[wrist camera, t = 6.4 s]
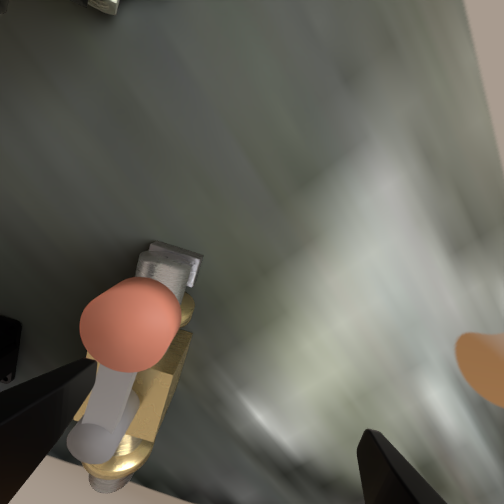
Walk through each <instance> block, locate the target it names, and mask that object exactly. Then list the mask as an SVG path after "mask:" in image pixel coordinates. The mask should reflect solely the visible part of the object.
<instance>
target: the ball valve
mask: <svg viewBox="0 0 504 504" xmlns="http://www.w3.org/2000/svg"><path fill="white" fill-rule="evenodd" d="M70 1H73V2H75V3H77V4H79V5H81V6H83V7H86V8H87V4H89V5H90V6H92V7H94V8H96V9H98V10H100V11H102V12H104V13H107V14H111V15H116V13H117V9H118V5H119V1H120V0H70ZM8 2H9V0H0V14H4V13H6V11H7V8H8Z"/></svg>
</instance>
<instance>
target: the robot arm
mask: <svg viewBox="0 0 504 504" xmlns="http://www.w3.org/2000/svg"><path fill="white" fill-rule="evenodd" d="M21 328H22V326H21V323H20V322H18V321H16V320H13V319H9V318H6V317H3V316H0V382H2V383H6V384H8V383H10V382H11V381H12V380H14V378H15V372H16V365H17V357H18V350H19V343H20V335H21ZM96 373H97V361H96V360H93V359H89V358H82V359H79V360H77V361H74V362H72V363H69V364H67V365H65V366H62V367H60V368H57V369H55V370H53V371H50V372H48V373H45V374H43V375H40V376H38V377H36V378H33V379H31V380H28V381H26V382H24V383H21V384H19V385H16V386H14V387H11V388H9V389H7V390H4V391H2V392H0V504H8V503H9V502H10V500H11V499H12V498H13V497H14V495H15V494H16V493H17V492H18V490H19V489H20V488H21V487H22V485H23V484H24V483H25V482H26V480H27V479H28V478H29V477H30V475H31V474H32V473H33V472H34V470H35V469H36V468H37V466H38V465H39V464H40V463H41V461H42V460H43V459H44V458H45V456H46V455H47V454H48V453H49V451H50V450H51V449H52V448H53V446H54V445H55V444H56V442H57V441H58V440H59V438H60V437H61V435H62V434H63V433H64V431H65V430H66V428H67V427H68V425H69V424H70V422H71V421H72V419H73V418H74V416H75V415H76V413H77V412H78V410H79V408H80V407H81V405H82V404H83V402H84V401H85V399H86V398H87V396H88V395H89V393H90V392H91V390H92V389H93V387H94V384H95V381H96ZM357 459H358V465H359V471H360V477H361V482H362V488H363V494H364V500H365V504H447V503H446V502H445V500H444V499H443V498H442V497H441V496H440V495H439V494H438V493H437V492H436V491H435V490H434V489H433V488H432V487H431V486H430V484H429V483H428V482H427V481H426V480H425V479H424V478H423V477H422V476H421V475H420V474H419V473H418V472H417V471H416V470H415V469H414V467H413V466H412V465H411V464H410V463H409V462H408V461H407V460H406V459H405V458H404V457H403V456H402V455H401V454H400V453H399V451H398V450H397V449H396V448H395V447H394V446H393V445H392V444H391V443H390V442H389V441H388V440H387V439H386V438H385V437H384V436H383V434H382V433H381V432H379V431H376V430H372V429H366V430H365V431H364V433H363V435H362V438H361V440H360V442H359V444H358V447H357Z"/></svg>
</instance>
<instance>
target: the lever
mask: <svg viewBox="0 0 504 504" xmlns="http://www.w3.org/2000/svg"><path fill="white" fill-rule="evenodd" d="M181 318H182V315H181V308H180V304H179V302H178V300H177V298H176V296H175V295H174V294H173V292H172V291H171V290H170V289H169V288H168V287H167V286H165V285H164V284H162V283H161V282H159V281H157V280H154V279H151V278H147V277H132V278H128V279H125V280H123V281H121V282H119V283H118V284H116V285H115V286H113V287H112V288H110V289H109V290H107V291H105V292H104V293H102V294H101V295H99V296H98V297H96V298H95V299H93V300H92V301H91V302H90V303H89V304H88V305H87V306H86V308H85V309H84V311H83V313H82V316H81V319H80V327H79V328H80V335H81V339H82V342H83V344H84V346H85V348H86V350H87V351H88V352H89V354H90V355H91V356H92V357H93V358H94V359H95V360H96V361H98V362H99V363H100V365H99V369H98V372H97V375H96V381H95V384H94V387H93V389H92V391H91V394H90V398H89V401H88V404H87V407H86V411H85V414H84V415H83V416H82V417H81V419H80V420H79V421H78V422H77V424H76V425H75V426H74V428H73V429H72V430H71V431H70V433H69V434H68V436H67V447H68V449H69V451H70V452H71V454H72V455H73V456H74V457H75V458H77V459H78V460H80V461H82V462H84V463H88V464H102V463H105V462H107V461H108V460H110V459H111V458H112V456H113V455H114V453H115V451H116V449H117V447H118V446H119V444H120V442H121V440H122V438H123V437H124V435H125V433H126V431H127V429H128V427H129V426H130V424H131V422H132V420H133V418H134V417H135V415H136V413H137V411H138V409H139V406H140V401H139V397H138V395H137V394H136V393H135V392H134V391H133V390H132V386H133V383H134V380H135V377H136V375H137V372H140V371H143V370H146V369H148V368H150V367H152V366H154V365H155V364H156V363H157V362H159V360H160V359H161V358H162V357H163V355H164V354H165V352H166V350H167V349H168V347H169V345H170V343H171V342H172V340H173V338H174V337H175V335H176V333H177V331H178V329H179V327H180V324H181Z"/></svg>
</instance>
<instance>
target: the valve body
mask: <svg viewBox="0 0 504 504" xmlns="http://www.w3.org/2000/svg"><path fill="white" fill-rule="evenodd" d="M203 256H204V255H201V254H198V253H194V252H191V251H188V250H185V249H182V248H179V247H176V246H172V245H169V244H166V243H163V242H160V241H155V242H153V243H151V244H150V247H149V251H144V252H142V253H140V256H139V260H138V264H137V269H136V273H135V277H147V278H151V279H154V280H157V281H159V282H161V283H162V284H164V285H165V286H167V287H168V288H169V289H170V290H171V291H172V292H173V294H174V295H175V296H176V298H177V300H178V302H179V304H180V308H181V315H182V318H181V324H180V327H179V329H178V331H177V333H176V335H175V337H174V338H173V340H172V342H171V343H170V345H169V347H168V349H167V350H166V352H165V354H164V355H163V357H162V358H161V359H160V360H159V362H157V363H156V364H155V365H154V366H152V367H150V368H148V369H146V370H143V371H140V372H137V375H136V377H135V380H134V383H133V386H132V390H133V391H134V392H135V393H136V394H137V395H138V397H139V401H140V406H139V409H138V411H137V413H136V415H135V417H134V418H133V420H132V422H131V424H130V426H129V427H128V429H127V431H126V433H125V435H124V437H123V438H122V440H121V442H120V444H119V446H118V447H117V449H116V451H115V453H114V455H113V456H112V458H111V459H110V460H108V461H107V462H105V463H102V464H88V463H84V462H82V461H81V462H82V465H83V466H84V468H85V469H86V471H87V472H88V473H89V482H90V485H91V487H92V488H93V489H94V490H95V491H98V492H100V493H112V492H115V491H117V490H119V489H121V488H122V487H124V486H125V485H126V484H127V483H128V482H129V480H130V479H131V477H132V475H133V473H134V472H135V471H137V470H138V469H139V468H140V467H141V466H142V465H143V464H144V463H145V462H146V461H147V459H148V458H149V456H150V454H151V451H152V449H153V445H154V442H155V438H156V435H157V433H158V430H159V428H160V426H161V423H162V421H163V418H164V416H165V414H166V411H167V409H168V407H169V404H170V402H171V399H172V397H173V395H174V392H175V390H176V387H177V384H178V381H179V377H180V374H181V371H182V368H183V364H184V361H185V358H186V354H187V351H188V348H189V344H190V341H191V338H192V334H193V333H190V332H187V331H184V330H181V329H180V328H182V327H184V326H186V325H187V324H188V323H189V322H190V320H191V317H192V313H193V310H194V307H195V303H194V300H193V298H192V297H191V296H190V295H189V294H188V293H187V292H185V289H186V286H190V287H193V285H194V284H195V282H196V280H197V277H198V273H199V270H200V267H201V263H202V260H203ZM86 358H89V359H93V360H95V359H94V358H93V357H92V356H91V355H90V354H89V352H88V351H87V356H86ZM99 365H100V363H99V362H98V361H97V372H98V369H99ZM96 375H97V373H96ZM91 391H92V390H91ZM90 394H91V392H90V393H89V395H88V396H87V398H86V399H85V401H84V402H83V404H82V405H81V407H80V408H79V410H78V412H77V413H76V415H75V416H74V420H76V421H79V420H80V419H81V417H82V416H83V415H84V414H85V411H86V407H87V404H88V401H89V398H90Z"/></svg>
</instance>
